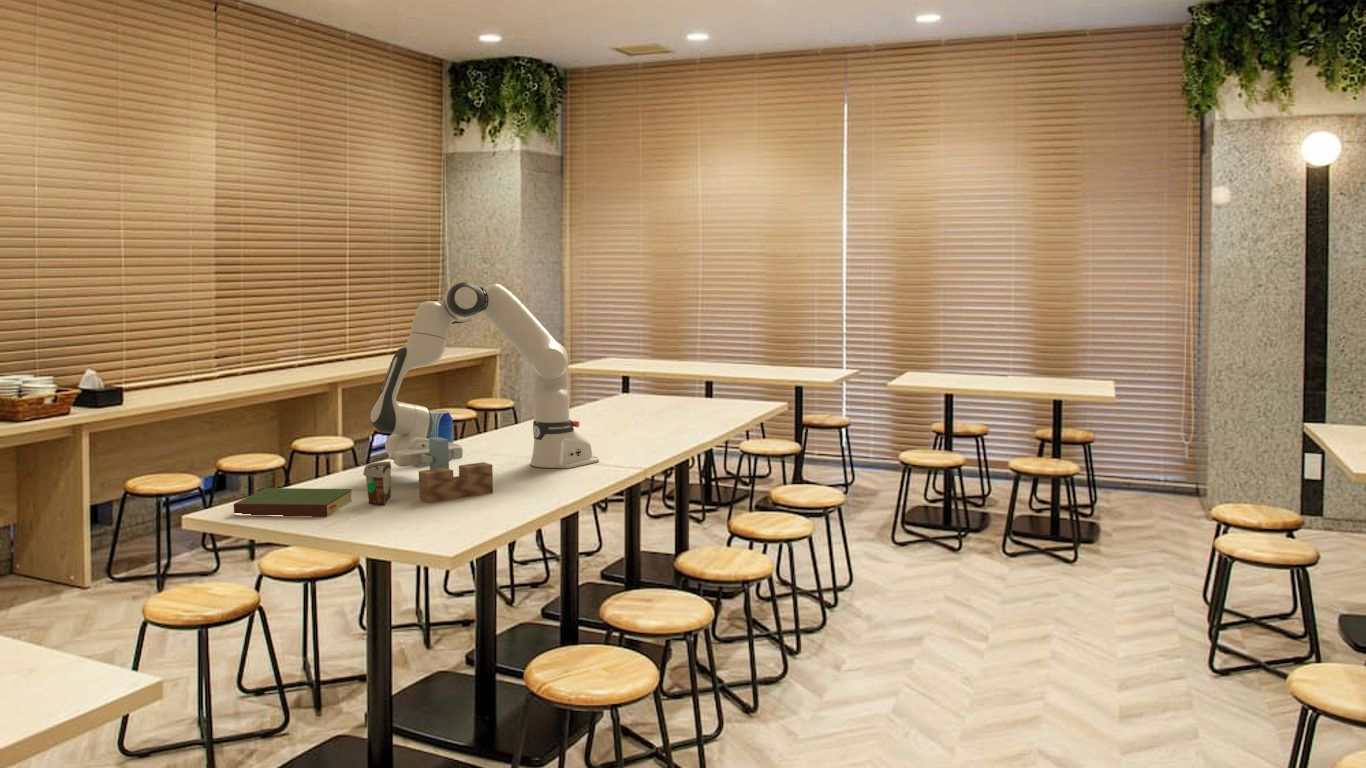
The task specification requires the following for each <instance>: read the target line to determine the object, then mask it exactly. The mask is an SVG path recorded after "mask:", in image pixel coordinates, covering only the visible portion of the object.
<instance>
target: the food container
mask: <svg viewBox="0 0 1366 768" xmlns="http://www.w3.org/2000/svg"><path fill="white" fill-rule="evenodd" d="M391 469H392V464H391V461H379V462H374V463H369V464H367V465H365V466H364V469H363V476H364V477H365V479H366V488H367V489H366V490H367V498H368V505H369V504H370V505H371V506H377V507H378V506H383V507H384V506H386V505H387V503H389V501H390V500H391V498H392V476H391V475H392V474H391V473H392V472H391V471H392V470H391Z"/></svg>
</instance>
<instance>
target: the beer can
mask: <svg viewBox="0 0 1366 768" xmlns="http://www.w3.org/2000/svg"><path fill="white" fill-rule="evenodd" d="M429 411H430V413H431V416H432V419H433V428H432V432H431V434H430V437H429V438H434V437H440V438H444V439H448V442H451V443H454V432H453V417H452V416H451V414H450V411H449V410H447V409H446V410H442V409H439V410H437V409H436V410H429ZM429 438H428V439H429ZM450 461H451V460H449V462H450Z"/></svg>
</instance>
